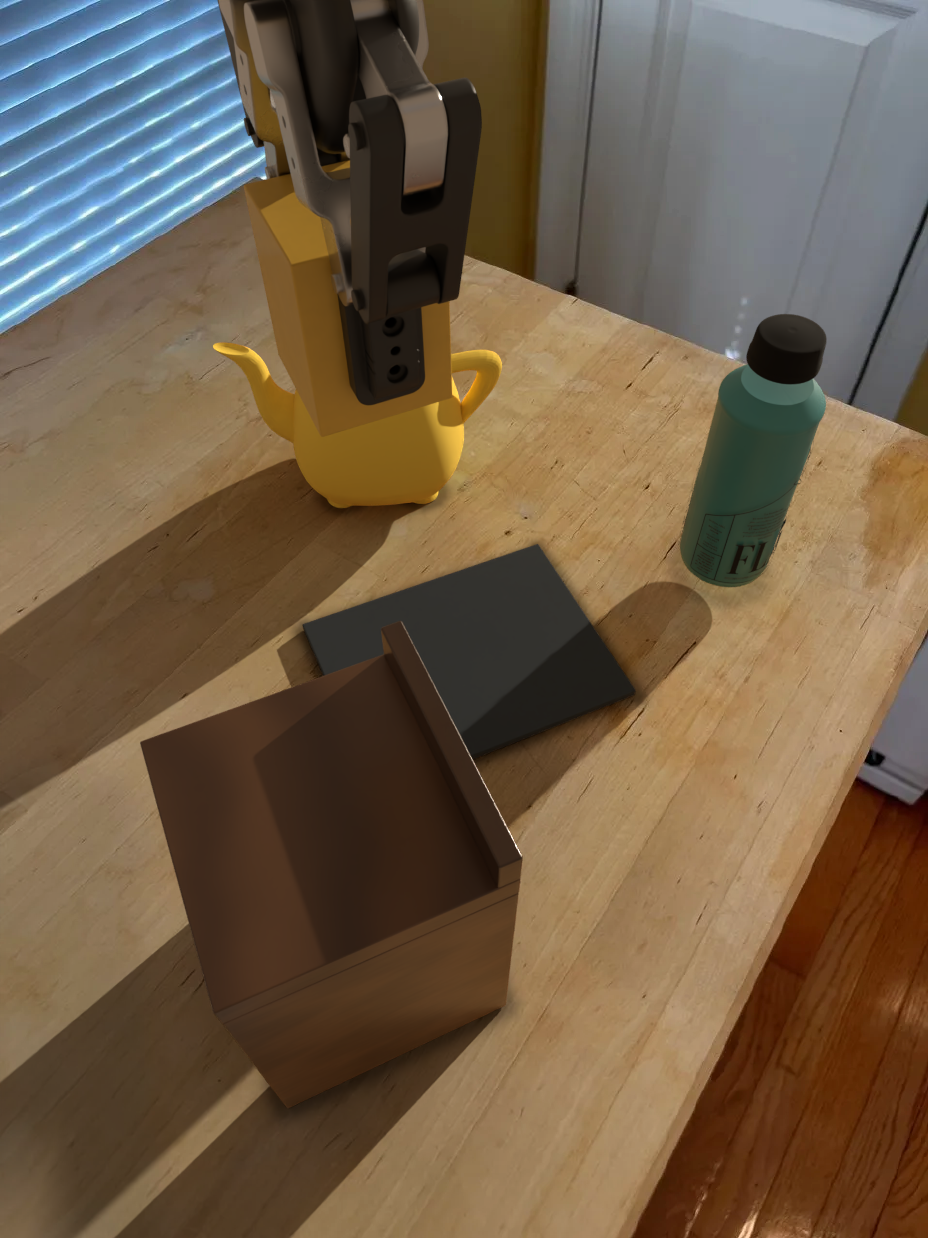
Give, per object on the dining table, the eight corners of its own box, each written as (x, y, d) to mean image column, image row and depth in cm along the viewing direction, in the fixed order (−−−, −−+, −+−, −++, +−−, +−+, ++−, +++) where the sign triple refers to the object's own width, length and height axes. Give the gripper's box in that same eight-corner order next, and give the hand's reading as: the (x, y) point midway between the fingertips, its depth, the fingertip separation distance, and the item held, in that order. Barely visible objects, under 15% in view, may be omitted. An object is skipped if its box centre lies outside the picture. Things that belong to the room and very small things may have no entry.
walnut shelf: (287, 1109, 46) (200, 997, 31) (222, 893, 53) (125, 716, 38) (506, 1005, 49) (523, 857, 34) (419, 813, 56) (401, 619, 41)
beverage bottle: (714, 617, 65) (793, 383, 49) (653, 556, 68) (709, 319, 52) (783, 579, 67) (881, 342, 51) (721, 522, 70) (794, 283, 55)
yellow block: (321, 438, 29) (290, 265, 24) (278, 355, 32) (242, 183, 27) (453, 398, 30) (448, 224, 26) (401, 320, 33) (388, 149, 28)
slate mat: (375, 798, 57) (375, 793, 56) (303, 629, 64) (301, 623, 64) (635, 695, 61) (636, 690, 61) (537, 548, 69) (538, 543, 68)
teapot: (251, 417, 78) (219, 283, 68) (491, 406, 79) (494, 272, 69) (238, 536, 70) (200, 404, 60) (506, 522, 70) (513, 389, 61)
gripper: (-13, -491, 19) (190, 257, 33) (132, -399, 12) (320, 533, 25) (330, -510, 21) (389, 209, 35) (659, -441, 13) (568, 452, 27)
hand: (359, 342), depth 30 cm, fingers closed on yellow block, 4 cm apart
